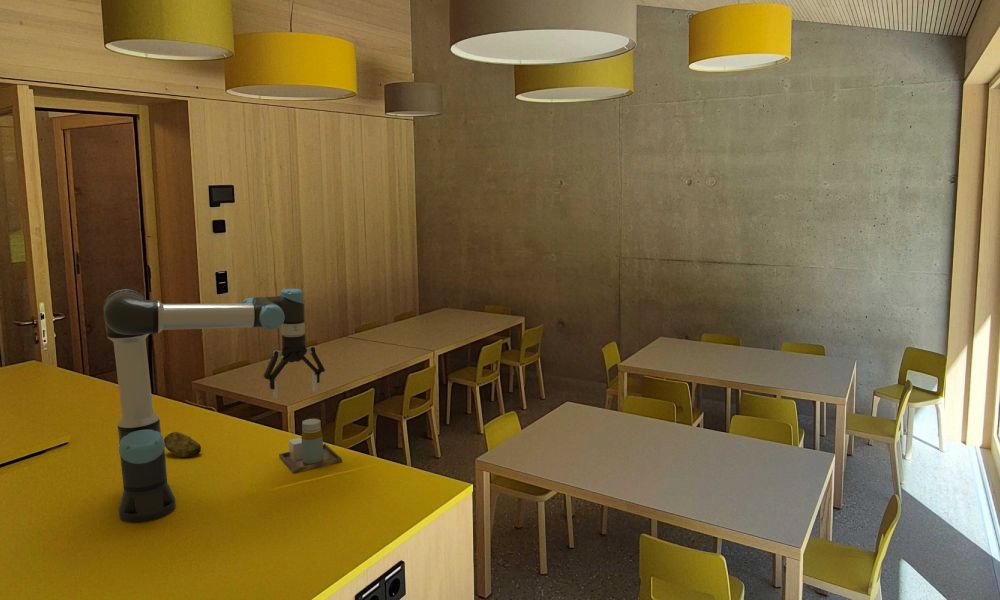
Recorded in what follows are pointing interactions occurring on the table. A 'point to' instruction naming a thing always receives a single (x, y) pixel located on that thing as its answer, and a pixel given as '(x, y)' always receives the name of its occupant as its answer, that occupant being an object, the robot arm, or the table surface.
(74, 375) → the table surface
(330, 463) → the tray
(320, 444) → the bottle
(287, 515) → the table surface
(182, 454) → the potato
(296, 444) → the carton
